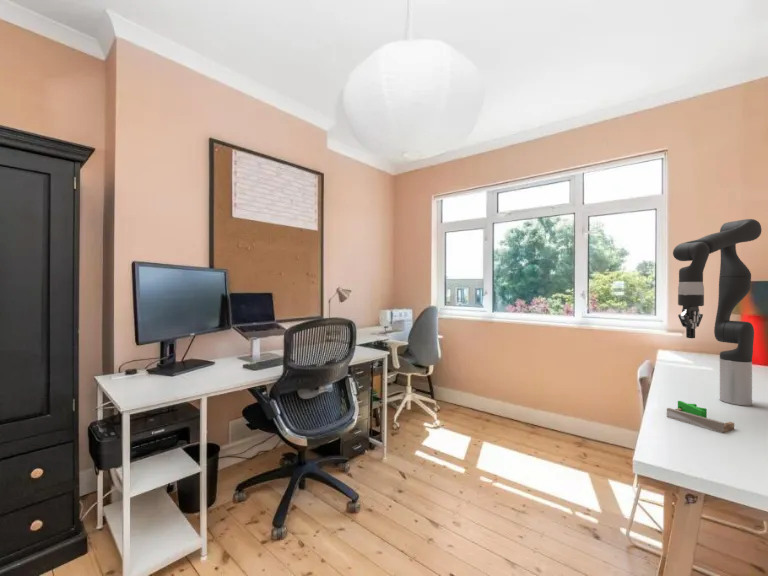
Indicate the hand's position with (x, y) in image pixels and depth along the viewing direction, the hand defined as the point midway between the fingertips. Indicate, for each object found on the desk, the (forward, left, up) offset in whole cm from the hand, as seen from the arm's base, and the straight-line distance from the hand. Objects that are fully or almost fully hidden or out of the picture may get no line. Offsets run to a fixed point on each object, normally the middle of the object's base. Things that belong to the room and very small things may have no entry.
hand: (690, 338), depth 132 cm
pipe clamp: (+13, +7, -27) cm, 31 cm away
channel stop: (+16, +10, -27) cm, 33 cm away
